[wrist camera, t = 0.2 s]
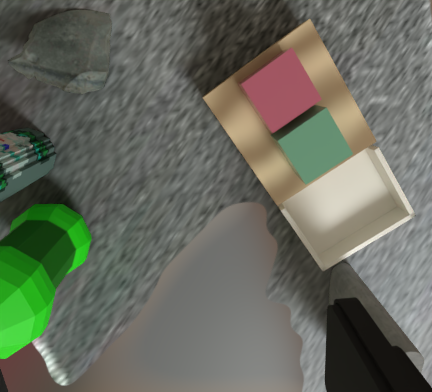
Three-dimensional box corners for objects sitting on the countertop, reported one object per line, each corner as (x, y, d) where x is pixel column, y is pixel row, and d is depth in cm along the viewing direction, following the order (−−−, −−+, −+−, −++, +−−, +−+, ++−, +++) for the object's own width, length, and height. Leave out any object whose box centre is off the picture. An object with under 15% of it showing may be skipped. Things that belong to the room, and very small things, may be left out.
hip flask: (355, 346, 56) (433, 483, 37) (330, 350, 56) (396, 488, 37) (352, 261, 51) (441, 369, 32) (324, 265, 51) (397, 376, 32)
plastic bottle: (45, 177, 45) (-131, 287, 21) (114, 221, 47) (26, 363, 24) (10, 234, 47) (-183, 389, 24) (78, 273, 50) (-36, 450, 26)
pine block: (202, 96, 42) (202, 97, 39) (299, 24, 40) (309, 18, 36) (271, 195, 47) (277, 205, 43) (361, 136, 45) (376, 141, 41)
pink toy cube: (237, 83, 38) (241, 84, 34) (282, 50, 37) (292, 47, 33) (266, 128, 40) (272, 133, 36) (310, 97, 39) (322, 99, 35)
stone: (22, 3, 39) (12, 89, 40) (8, -17, 36) (-3, 79, 36) (117, 22, 41) (107, 105, 42) (113, 6, 37) (102, 97, 38)
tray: (275, 201, 47) (280, 210, 44) (365, 142, 45) (378, 147, 42) (314, 258, 50) (322, 271, 47) (400, 206, 48) (415, 215, 45)
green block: (270, 135, 40) (277, 141, 36) (314, 104, 39) (326, 107, 35) (296, 175, 42) (305, 185, 38) (339, 147, 41) (353, 154, 37)
